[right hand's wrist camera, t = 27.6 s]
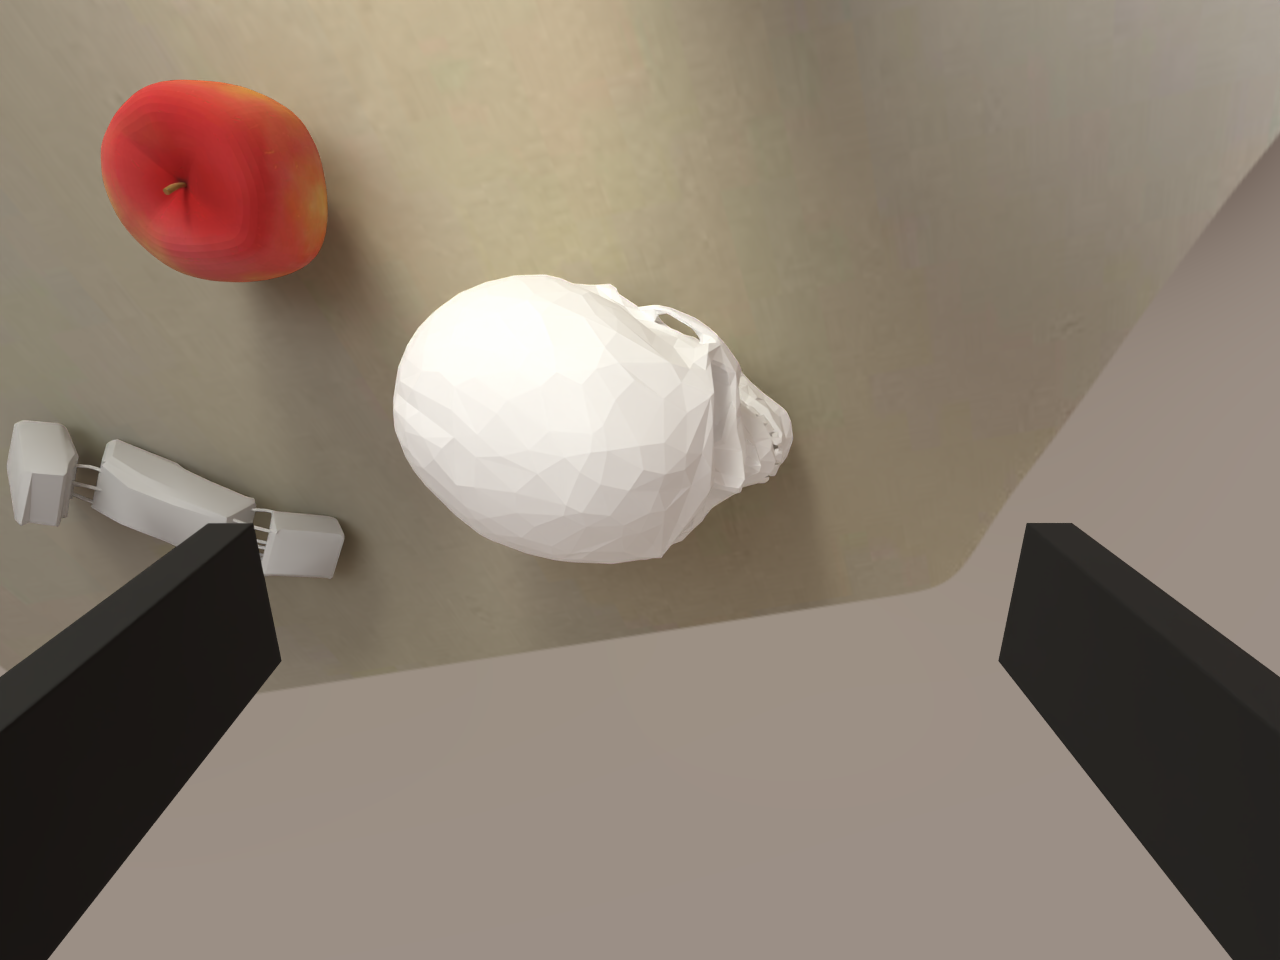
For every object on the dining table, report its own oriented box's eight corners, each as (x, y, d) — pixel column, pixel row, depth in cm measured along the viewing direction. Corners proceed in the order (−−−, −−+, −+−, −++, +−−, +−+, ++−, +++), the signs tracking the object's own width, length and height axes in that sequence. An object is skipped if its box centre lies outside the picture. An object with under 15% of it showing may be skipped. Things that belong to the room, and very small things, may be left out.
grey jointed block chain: (26, 460, 46) (-59, 507, 40) (33, 408, 45) (-54, 447, 39) (345, 556, 51) (314, 611, 45) (359, 511, 50) (329, 561, 43)
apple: (222, 55, 39) (89, 8, 29) (388, 154, 40) (313, 140, 31) (166, 222, 42) (29, 227, 32) (324, 307, 43) (237, 336, 34)
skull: (763, 524, 48) (821, 656, 33) (430, 462, 47) (333, 571, 32) (818, 323, 44) (913, 370, 29) (455, 247, 43) (356, 257, 28)
